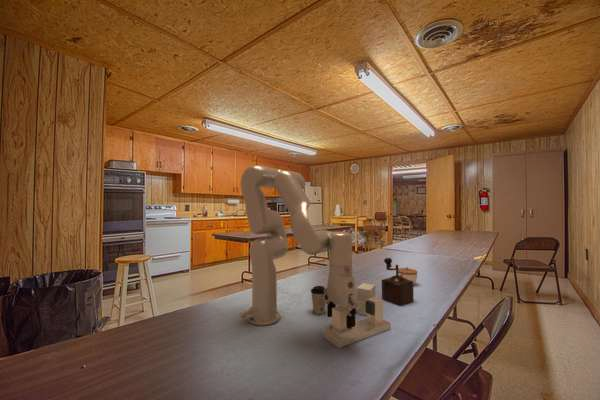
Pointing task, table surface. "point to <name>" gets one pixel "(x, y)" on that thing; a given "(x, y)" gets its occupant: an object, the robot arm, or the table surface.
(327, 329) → the rail
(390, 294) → the manual coffee grinder
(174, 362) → the table surface
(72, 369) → the table surface
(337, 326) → the beige orange block
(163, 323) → the table surface
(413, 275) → the lidded jar
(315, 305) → the coffee cup
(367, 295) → the small box
